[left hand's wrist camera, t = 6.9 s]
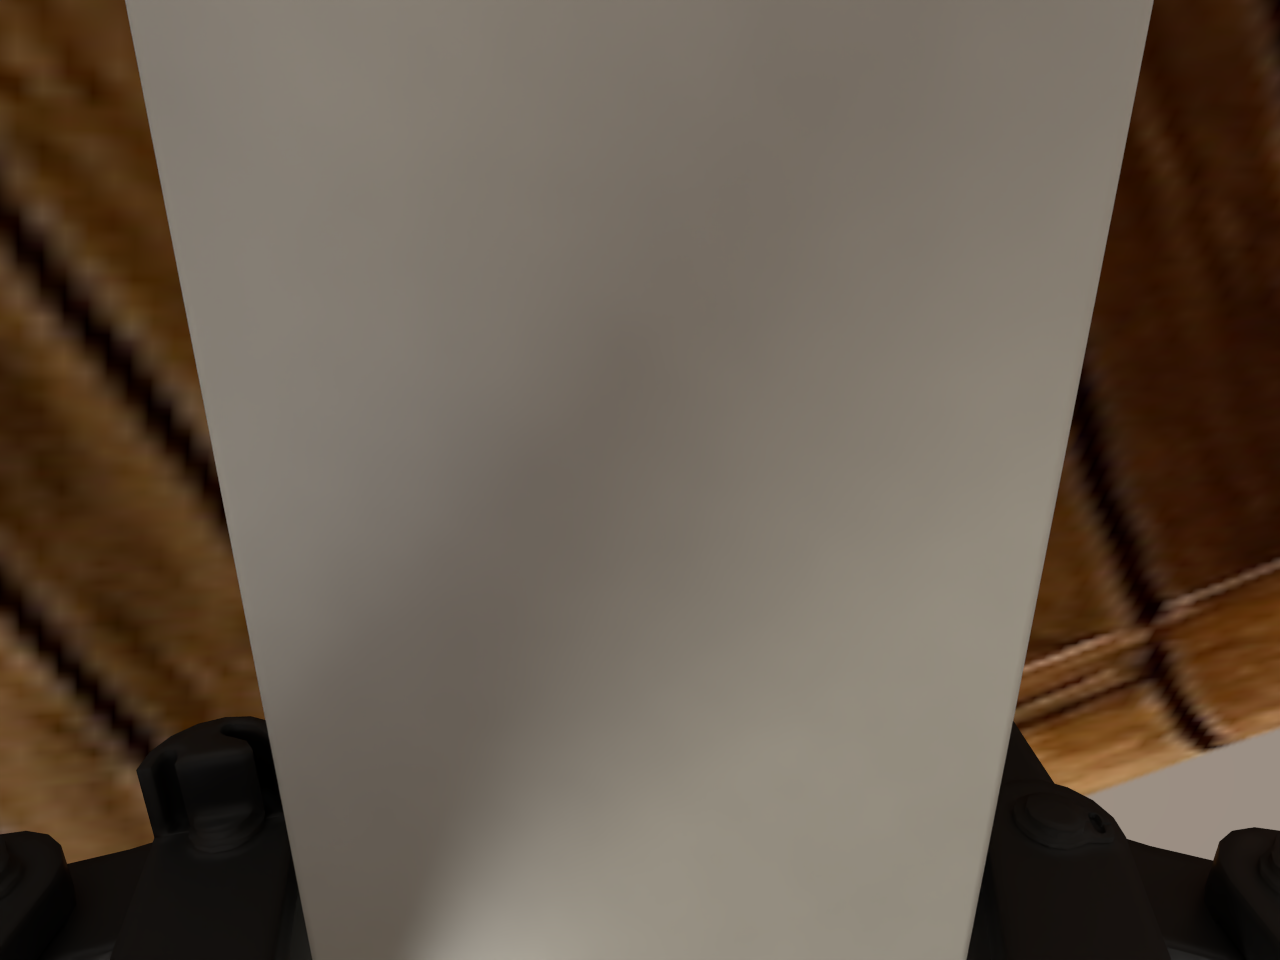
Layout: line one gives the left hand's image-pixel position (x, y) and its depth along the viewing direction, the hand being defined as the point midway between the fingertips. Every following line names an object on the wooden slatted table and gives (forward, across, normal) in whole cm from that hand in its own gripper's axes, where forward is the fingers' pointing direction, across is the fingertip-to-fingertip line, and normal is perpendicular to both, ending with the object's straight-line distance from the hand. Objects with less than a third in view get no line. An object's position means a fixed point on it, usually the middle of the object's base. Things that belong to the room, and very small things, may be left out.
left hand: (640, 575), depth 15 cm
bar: (+1, 0, -9) cm, 9 cm away
